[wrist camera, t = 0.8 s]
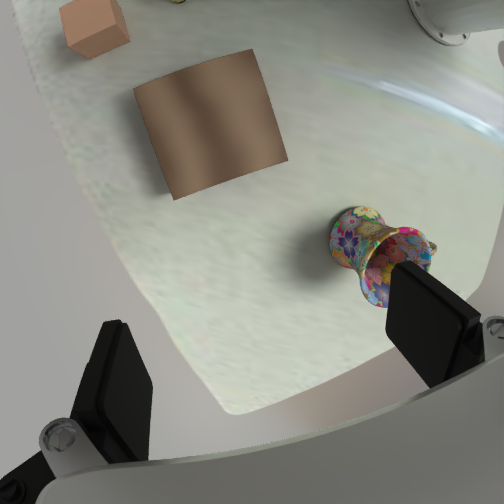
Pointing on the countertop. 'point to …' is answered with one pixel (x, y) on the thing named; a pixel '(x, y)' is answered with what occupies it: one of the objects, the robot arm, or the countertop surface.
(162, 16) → the countertop surface
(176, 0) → the toy
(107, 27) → the terracotta block
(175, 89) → the walnut box
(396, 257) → the mug
